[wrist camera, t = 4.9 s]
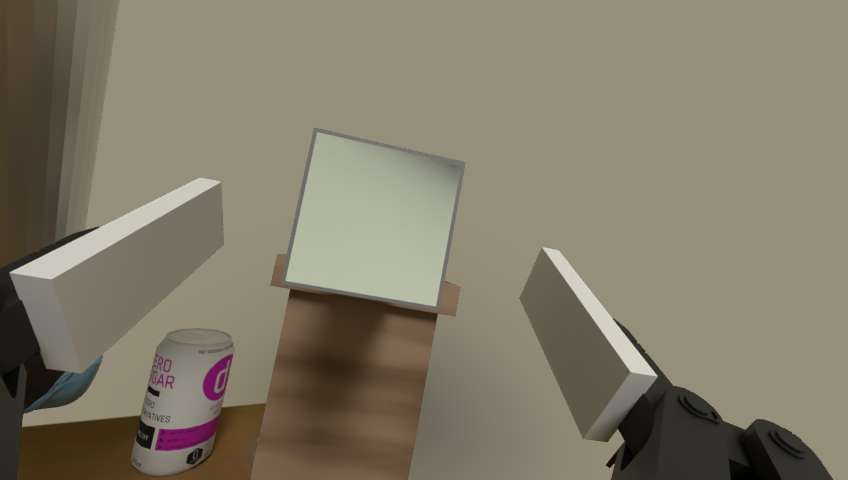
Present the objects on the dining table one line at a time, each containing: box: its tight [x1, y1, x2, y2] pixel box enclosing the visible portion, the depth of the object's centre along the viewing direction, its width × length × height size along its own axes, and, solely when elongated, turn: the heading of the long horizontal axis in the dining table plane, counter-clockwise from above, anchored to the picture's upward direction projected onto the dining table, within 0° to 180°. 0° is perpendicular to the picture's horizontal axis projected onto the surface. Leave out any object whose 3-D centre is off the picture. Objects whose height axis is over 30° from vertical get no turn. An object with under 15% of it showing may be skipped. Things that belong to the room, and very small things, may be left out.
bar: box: [281, 128, 465, 311], centre depth 24 cm, size 30×4×4 cm, turn 8°
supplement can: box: [131, 328, 234, 476], centre depth 42 cm, size 8×8×15 cm
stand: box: [250, 254, 460, 480], centre depth 31 cm, size 20×12×28 cm, turn 8°
